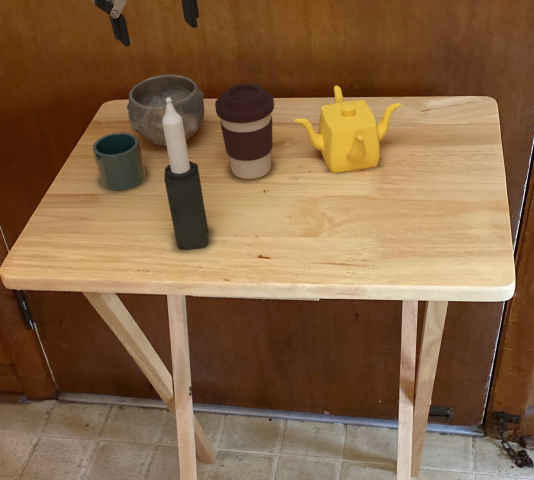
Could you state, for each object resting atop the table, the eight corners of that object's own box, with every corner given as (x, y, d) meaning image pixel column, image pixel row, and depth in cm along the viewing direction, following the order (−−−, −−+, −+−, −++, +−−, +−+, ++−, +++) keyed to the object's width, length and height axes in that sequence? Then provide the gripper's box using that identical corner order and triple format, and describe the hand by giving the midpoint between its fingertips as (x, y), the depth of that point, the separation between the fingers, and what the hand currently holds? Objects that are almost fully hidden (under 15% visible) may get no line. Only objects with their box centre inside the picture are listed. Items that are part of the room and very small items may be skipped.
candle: (177, 231, 134) (151, 91, 117) (208, 228, 134) (186, 87, 117) (176, 250, 130) (149, 108, 113) (208, 247, 130) (185, 104, 113)
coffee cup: (268, 149, 151) (262, 73, 140) (286, 176, 144) (281, 98, 133) (217, 162, 149) (207, 86, 139) (233, 189, 142) (223, 111, 132)
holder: (109, 195, 143) (100, 161, 139) (95, 174, 149) (87, 140, 144) (151, 181, 146) (144, 147, 141) (137, 161, 151) (129, 128, 146)
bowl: (126, 157, 152) (115, 109, 146) (146, 116, 164) (136, 69, 157) (199, 158, 150) (191, 108, 144) (214, 116, 161) (207, 68, 155)
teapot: (362, 185, 140) (362, 135, 133) (294, 164, 146) (291, 115, 140) (403, 145, 148) (405, 96, 141) (336, 128, 155) (335, 80, 148)
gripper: (188, -126, 103) (206, 9, 115) (56, -97, 98) (89, 40, 110) (211, -113, 98) (227, 26, 109) (73, -81, 93) (105, 60, 105)
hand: (158, 33), depth 110 cm, fingers open, 9 cm apart
